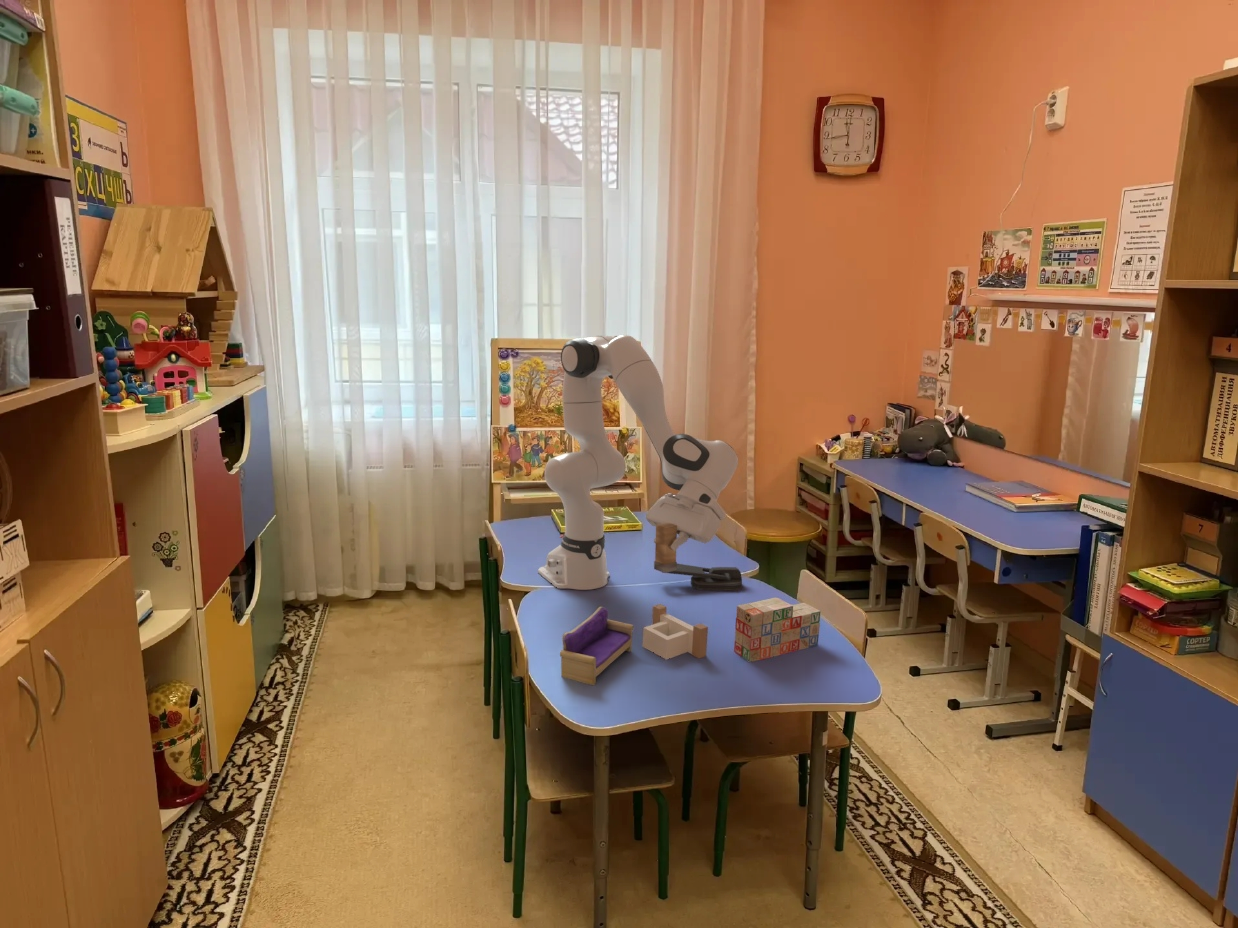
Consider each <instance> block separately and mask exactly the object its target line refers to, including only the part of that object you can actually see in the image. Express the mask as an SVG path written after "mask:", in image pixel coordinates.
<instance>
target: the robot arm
mask: <svg viewBox="0 0 1238 928" xmlns="http://www.w3.org/2000/svg"><path fill="white" fill-rule="evenodd" d="M560 362H561V366H562V368H563V371H564V374H563V382H562V411H563V414H562V415H563V428H564V430H565V432H566V434H568V435H569V436H571V437H573V438H575V439H576V441H577V442H578V445H579V448H580V450H579V451H571V452H566V453H562V454H559V455H557V456H555V457H554V456H553V457H552V458H549V460H548V461H547V463H546V464H545V467H544V479H545V483H546V484H547V486H548V488H550V490H552V491H553V492H554V493H556V495H557V496H558V497H559V498H560V499H561V502H562V505H563V508H564V525H565V526H564V527H565V528H564V533H560V534H559V539H561V538H562V539H561V542H560V544H559V545H558V546H556V547H555V548H554V549H553V550H552V549H551V551H549V552H548V554H547V556H546V562H545V563H546V564H545V565H543V566H540V567H539V568H538V570H537V573H538V574H539V575H540V576H542V577H543V578H544V579H545V580H546V581H548V582H549V583H550V584H551V583H552V584H551V585H552V586H553V587H555V588H556V587H557V588H556V589H572V590H578V591H579V590H582V591H583V590H585V591H586V590H594V589H595V590H596V589H599V588H603V587H604V586H606V585H607V584H608V581H609V580H608V578H609V576H610V572H609V570H608V568H607V553H606V550H605V543H606V538H605V534H604V525H605V512H604V509H603V507H602V506H601V505H600V503H598V502H596V501H594V500H592V498H591V489H595V488H596V489H597V488H601V487H606V486H610V485H613V484H615V483H616V482H618V481H621V480H622V479H623V477H624V476H625V474H626V467H627V466H626V461H625V458H624V455H623V454H622V453H621V452H620V451H619V450H618V449H617V448H615V447H614V446H613V444H612V442H611V441H610V440H609V439H610V438H608V434H607V433H606V430H605V429H606V428H605V422H604V411H603V410H604V409H603V396H602V395H603V394H602V383H603V381H604V379H606V378H609V379H611V380H613V381H614V383H615V385H616V386H617V388H618V390H619V392H620V393H621V394H622V396H623V398H624V399H625V401H626V402H627V404H628V405H629V406H630V408H631V409H632V411H633V412H634V414H635V415H636V417H637V418H638V420H639V421H640V423H641V424H642V426H643V428H644V430H645V432H646V434H647V436H648V437H649V439H650V442H651V444H652V445H653V447H654V449H655V451H656V453H657V455H658V458H659V459H660V465H661V467H660V468H661V469H660V470H661V471H660V472H661V478H662V480H663V482H664V483H665V484H666V486H668V487H669V488H671V489H673V490H676V491H677V494H673V493H671V492H669V493H667V494H663V495H662V496H661V497H659V498H658V499H657V500H656V501H655V503H653V505H652V506H651V507H650V509H648V511H646V514H645V519H646V521H647V522H648V523H649V525H651V526H652V527H655V528H656V525H657V524H661V523H666V522H668V523H671V524H674V525H677V535H678V537H677V539H675V540H674V541H672V540H671V541H670V544H668V547H669V548H670V549H671V550H673V551H676V552H677V550H678V548H679V547H680V546H682V545H684V544H685V543H686V542H688V540H689V539H691V540H694V541H697V542H700V543H704V544H708V543H710V542H711V541H712V539H713V538H714V537H715V535H716V534H717V532H718V530H719V529H720V526H721V524H722V523H721V521H723V520H724V519H725V518H726V517H727V513H726V511H725V509H723V507H722V506H721V505H720V504H719V503H718V499H719V496H720V494H721V492H722V491H723V490H724V489H726V487H727V485H728V484H729V483H730V481H731V480H732V477H733V476H734V475H735V472H736V471H737V468H738V466H739V457H738V454H737V452H736V451H735V449H734V448H733V447H732V446H731V445H730V444H729V443H727V442H726V441H724V440H719V439H717V440H704V439H700V438H695V437H694V436H691V435H689V434H686V433H676V434H675V432H674V430H673V428H672V426H671V424H670V422H669V419H668V416H667V412H666V405H665V395H664V392H665V391H664V385H663V382H662V379H661V376H660V373H659V371H658V369H657V367H656V365H655V363H654V362H653V359H652V358H651V357H650V356H649V354H648V352H646V350H645V349H644V347H643V346H642V345H641V344H640V342H638V341H637V339H636V338H634V337H633V336H631V335H628V334H626V335H625V334H622V335H614V336H612V335H596V336H589V337H588V336H587V337H584V338H583V337H576V338H573V339H570V340H567V342H565V343H564V345H563V347H562V350H561V353H560ZM653 542H654V544H655V545H656V537H655V538H654V540H653Z"/></svg>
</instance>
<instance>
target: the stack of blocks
mask: <svg viewBox="0 0 1238 928" xmlns="http://www.w3.org/2000/svg"><path fill="white" fill-rule="evenodd" d="M820 621H821V610H819V609H817V608H815V607H813V606H811V605H810V604H808V603H806V602H800V603H796V604H790V603H788V602H786V601H785V600H783V599H781V598H778V597H771V598H768V599H763V600H758V601H753V602H748V603H743V604H739V605H737V606H736V616H735V628H734V629H735V632H734V647H733V652H734V653H735V654H737V655H738V656H739V657H741V658H743V659H744V660H746V661H747V662H748V661H749V662H748V663H751V661H752V662H756V661H759V660H760V661H761V660H766V659H769V658H773V656H774V657H777V656H780V655H784V654H788V653H791V652H797V651H801V650H805V649H808V648H809V649H810V648H813V647H817V646H818V645H819V636H820V635H819V634H820V626H821V625H820V624H821V623H820ZM796 650H797V651H796Z"/></svg>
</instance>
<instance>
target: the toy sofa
mask: <svg viewBox="0 0 1238 928" xmlns="http://www.w3.org/2000/svg"><path fill="white" fill-rule="evenodd" d="M608 615H609V611H608V609H607V607H603V606H599V607H597V608H596V610H595V611H594V613H592V614H591V615H590V616H589V617H587V619H585V620H584V621H583V622H581V623H580V624H578V625H577V626H576V627H575V628H574V629H572V630H570V631H567V632H564V633H563V635H562V646H563V647H562V648H563V649H562V650H560V651H559V656H560V657H561V658H560V659H561V660H560V662H561V663H560V665H561V666H560V667H561V673H560V675H561V677H562V678H565V679H569V680H571V681H572V680H573V681H576V682H579V683H584V684H587V685H590V686H595V685H596V682H597V681H596V679H597V676H599V675H600V674H601V673H602V672H603V671H604V670H605V669H606V668H608V667H609V666H610V664H612V663H613V662H614V661H615V660H616V659H617V658H619V657H620V656H621V655H622V654H623V653H624V652H625V651H626V652H631V651H632V649H633V648H632V647H633V646H632V645H633V644H632V643H633V631H634V627H635V626H634V625H633V624H630V623H625V622H620V621H617V620H612V619H608Z"/></svg>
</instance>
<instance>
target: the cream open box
mask: <svg viewBox="0 0 1238 928" xmlns="http://www.w3.org/2000/svg"><path fill="white" fill-rule="evenodd" d="M708 628H709V627H708V625H705V624H703V623H702V622H701V623H697V624H695V625H692V624H689V623H688V622H685V621H683V620H681V619H679V618H677V617H675V616H673V615H672V614H671V615H670V614H669V613H667V606H665V605H663V604H661V603H659V604H656V605H652V621H651V625H647V626H645V627H643V630H642V631H643V632H642V648H644V649H646V650H648V651H650V652H652V653H653V652H654V654H655V655H657V656H659V657H660V656H661V658H663V659H664V660H666V659H667V660H669V658H670V659H672V658H674V657H675V658H676V657H678V656H681V655H683V654H686V653H689V654H691V656H693V657H695V658H697V659H701V658H702V659H703V658H705V657H706V656H707V649H708V648H707V647H708V631H709V629H708Z"/></svg>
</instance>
